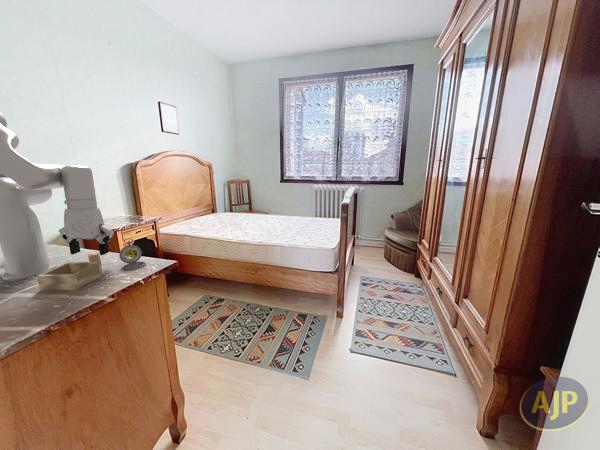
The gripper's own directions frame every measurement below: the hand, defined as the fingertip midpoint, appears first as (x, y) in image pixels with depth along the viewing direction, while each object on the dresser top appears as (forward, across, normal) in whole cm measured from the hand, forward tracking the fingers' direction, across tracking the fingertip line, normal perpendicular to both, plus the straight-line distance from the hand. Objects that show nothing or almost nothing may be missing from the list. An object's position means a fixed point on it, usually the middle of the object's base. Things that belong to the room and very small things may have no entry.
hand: (90, 253), depth 85 cm
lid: (+6, +1, 0) cm, 6 cm away
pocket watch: (+5, +14, +1) cm, 15 cm away
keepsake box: (+6, +4, -12) cm, 14 cm away
